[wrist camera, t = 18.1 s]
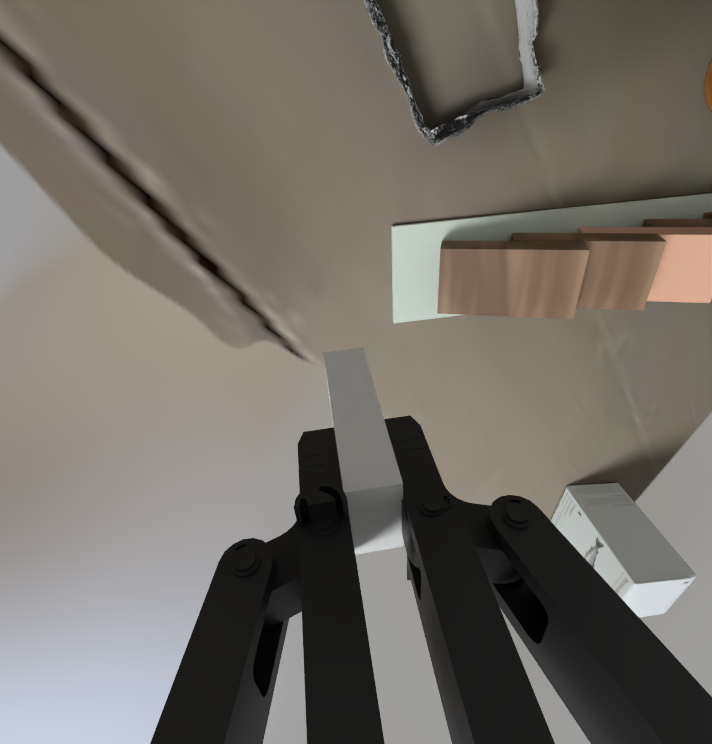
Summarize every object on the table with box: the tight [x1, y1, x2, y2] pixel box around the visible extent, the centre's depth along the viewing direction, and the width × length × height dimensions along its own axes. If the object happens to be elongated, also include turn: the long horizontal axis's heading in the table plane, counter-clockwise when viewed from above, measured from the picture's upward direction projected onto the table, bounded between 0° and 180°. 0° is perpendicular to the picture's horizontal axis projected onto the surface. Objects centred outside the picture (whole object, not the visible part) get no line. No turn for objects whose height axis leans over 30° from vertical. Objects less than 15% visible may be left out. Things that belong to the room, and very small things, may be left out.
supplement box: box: [551, 483, 696, 617], centre depth 49 cm, size 7×7×13 cm
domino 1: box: [437, 241, 590, 319], centre depth 32 cm, size 2×5×10 cm
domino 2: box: [511, 233, 667, 310], centre depth 33 cm, size 2×5×10 cm
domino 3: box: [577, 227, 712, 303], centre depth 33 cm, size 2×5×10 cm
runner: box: [391, 193, 712, 323], centre depth 35 cm, size 8×27×1 cm, turn 94°
